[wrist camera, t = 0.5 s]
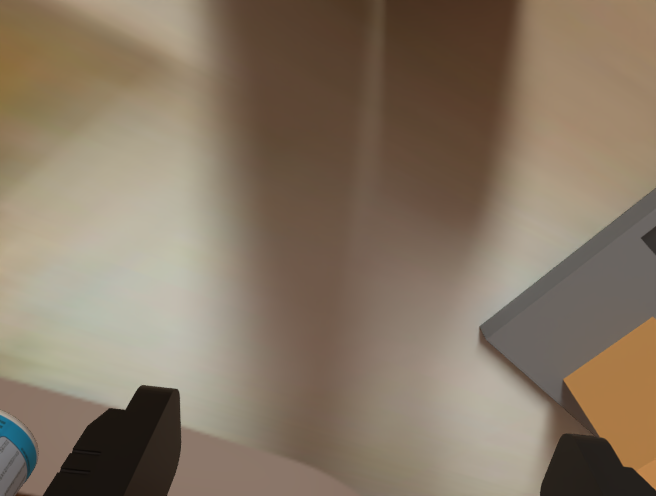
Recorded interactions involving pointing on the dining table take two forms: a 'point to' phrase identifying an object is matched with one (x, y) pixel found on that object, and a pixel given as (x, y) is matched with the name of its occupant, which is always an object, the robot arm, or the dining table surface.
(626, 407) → the orange block
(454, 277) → the dining table surface
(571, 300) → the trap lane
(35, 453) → the beverage bottle
